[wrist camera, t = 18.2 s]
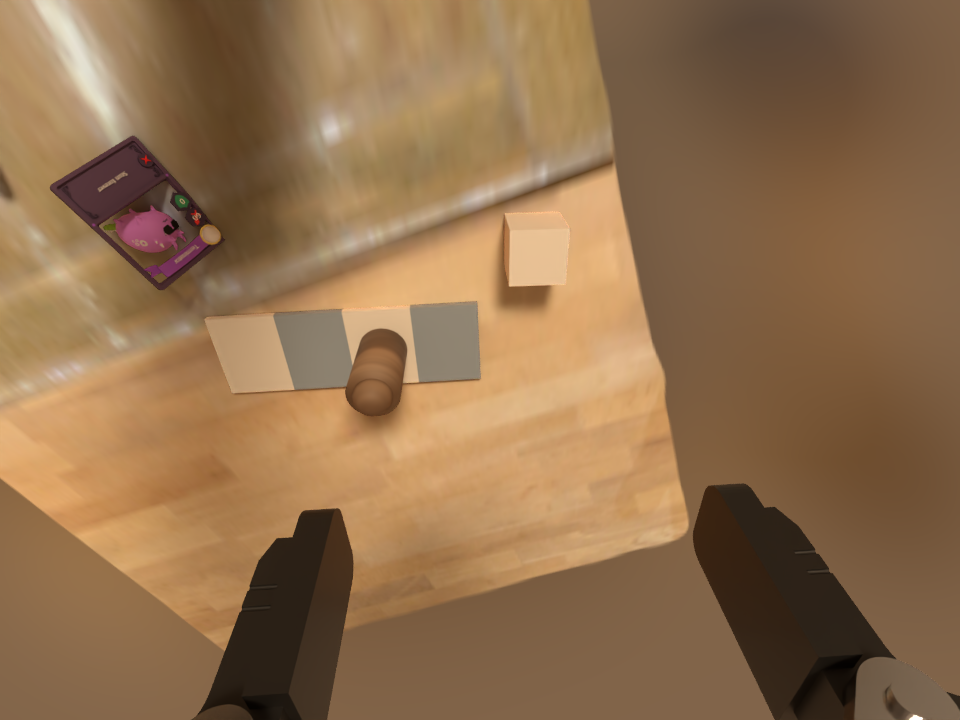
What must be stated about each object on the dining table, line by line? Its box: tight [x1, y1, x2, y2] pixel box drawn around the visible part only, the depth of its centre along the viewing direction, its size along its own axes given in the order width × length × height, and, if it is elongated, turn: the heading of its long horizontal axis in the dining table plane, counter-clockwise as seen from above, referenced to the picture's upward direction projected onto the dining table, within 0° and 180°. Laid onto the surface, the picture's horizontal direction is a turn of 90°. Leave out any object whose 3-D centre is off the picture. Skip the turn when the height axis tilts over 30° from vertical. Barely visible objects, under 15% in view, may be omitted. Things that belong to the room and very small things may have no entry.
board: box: [204, 301, 481, 393], centre depth 46 cm, size 8×24×1 cm, turn 92°
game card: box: [50, 136, 225, 290], centre depth 38 cm, size 7×5×9 cm
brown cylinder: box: [345, 328, 407, 416], centre depth 42 cm, size 4×4×9 cm
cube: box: [504, 212, 570, 287], centre depth 40 cm, size 4×4×4 cm
